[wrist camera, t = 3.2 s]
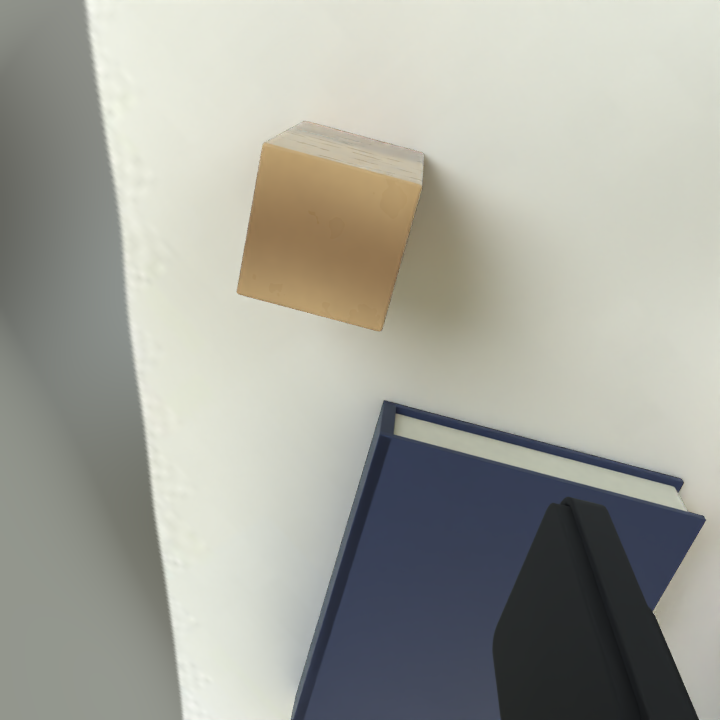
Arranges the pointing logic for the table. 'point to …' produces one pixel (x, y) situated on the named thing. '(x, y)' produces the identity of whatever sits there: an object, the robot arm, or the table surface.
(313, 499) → the table surface
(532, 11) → the table surface
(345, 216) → the birch block
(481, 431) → the book
